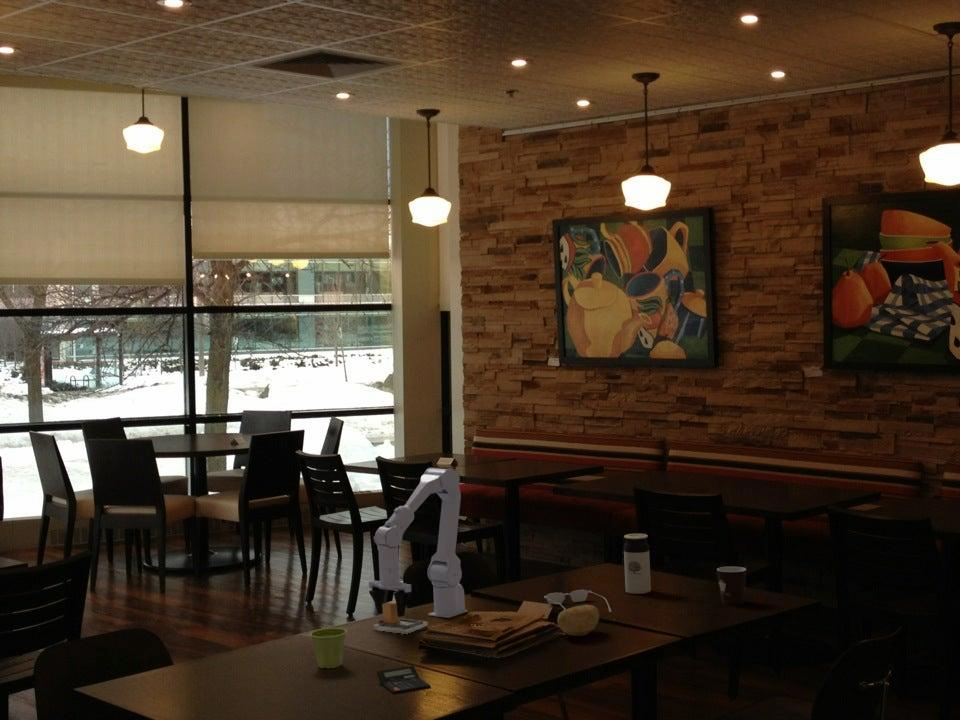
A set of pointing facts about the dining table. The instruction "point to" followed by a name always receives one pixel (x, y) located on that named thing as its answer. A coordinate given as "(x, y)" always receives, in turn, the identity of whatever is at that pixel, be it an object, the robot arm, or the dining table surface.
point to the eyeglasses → (575, 596)
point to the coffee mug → (731, 584)
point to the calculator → (401, 680)
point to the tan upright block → (390, 612)
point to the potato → (578, 620)
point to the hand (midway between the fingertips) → (391, 614)
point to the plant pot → (329, 646)
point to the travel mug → (637, 564)
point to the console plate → (400, 626)
